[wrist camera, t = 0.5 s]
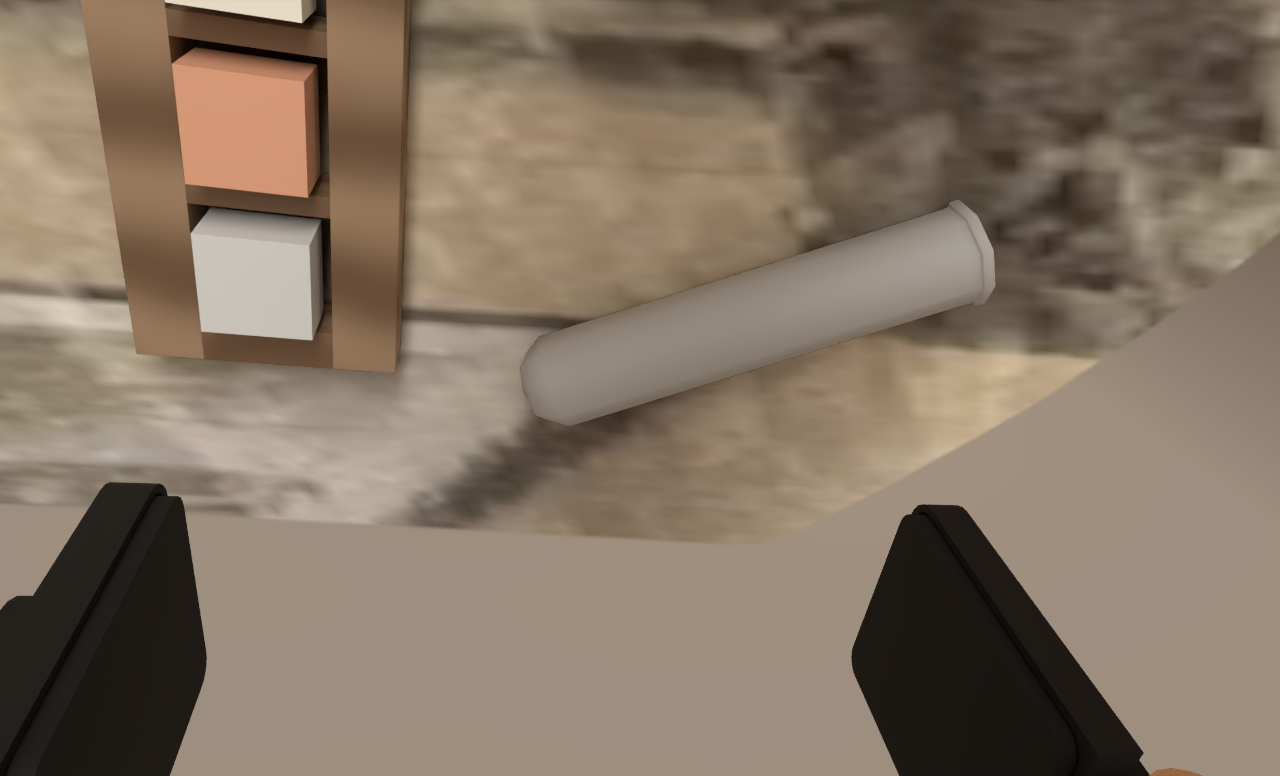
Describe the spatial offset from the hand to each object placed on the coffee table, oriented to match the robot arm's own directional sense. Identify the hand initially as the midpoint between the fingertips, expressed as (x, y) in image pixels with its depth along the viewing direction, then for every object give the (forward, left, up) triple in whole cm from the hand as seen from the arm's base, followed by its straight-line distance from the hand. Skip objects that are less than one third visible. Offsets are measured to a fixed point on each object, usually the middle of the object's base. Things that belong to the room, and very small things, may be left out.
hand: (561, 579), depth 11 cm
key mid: (+4, -11, -31) cm, 33 cm away
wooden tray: (+4, -11, -33) cm, 35 cm away
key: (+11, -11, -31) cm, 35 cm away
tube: (+12, +13, -33) cm, 38 cm away
